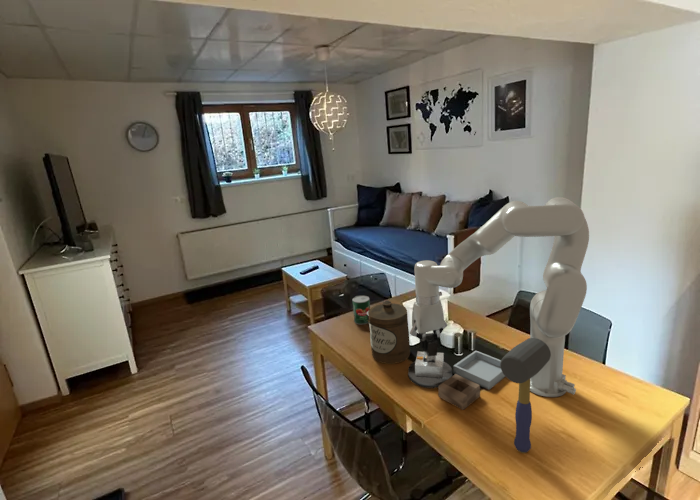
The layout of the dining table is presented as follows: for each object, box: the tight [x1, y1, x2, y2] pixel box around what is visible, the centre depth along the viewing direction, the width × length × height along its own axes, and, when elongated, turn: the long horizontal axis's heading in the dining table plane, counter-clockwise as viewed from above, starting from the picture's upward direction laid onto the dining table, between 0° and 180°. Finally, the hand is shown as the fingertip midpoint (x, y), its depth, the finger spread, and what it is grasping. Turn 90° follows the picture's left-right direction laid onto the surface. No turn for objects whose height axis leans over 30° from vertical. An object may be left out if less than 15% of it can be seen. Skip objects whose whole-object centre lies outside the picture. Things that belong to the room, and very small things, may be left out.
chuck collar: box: [415, 350, 445, 378], centre depth 133 cm, size 9×9×4 cm
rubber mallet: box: [500, 337, 551, 454], centre depth 96 cm, size 12×8×30 cm, turn 130°
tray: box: [452, 350, 506, 391], centre depth 133 cm, size 14×14×3 cm
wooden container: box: [368, 300, 411, 365], centre depth 147 cm, size 15×15×22 cm
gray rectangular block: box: [423, 332, 438, 363], centre depth 131 cm, size 6×3×10 cm, turn 4°
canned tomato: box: [352, 295, 371, 326], centre depth 179 cm, size 8×8×11 cm
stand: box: [437, 374, 481, 411], centre depth 122 cm, size 9×9×4 cm
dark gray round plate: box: [407, 360, 453, 389], centre depth 134 cm, size 15×15×2 cm
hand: (429, 347), depth 132 cm, fingers closed on gray rectangular block, 3 cm apart
